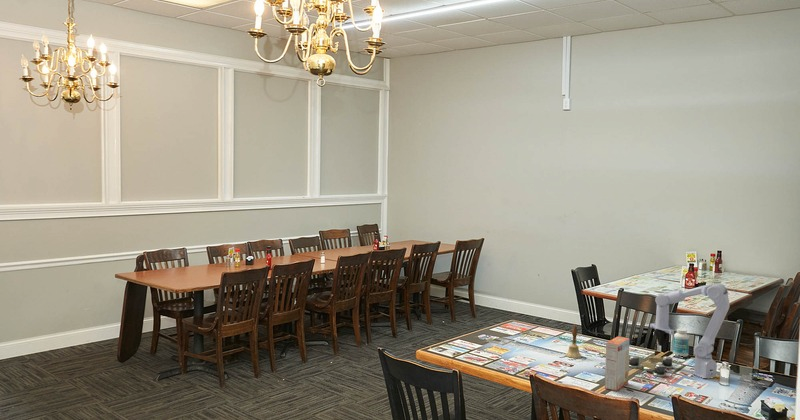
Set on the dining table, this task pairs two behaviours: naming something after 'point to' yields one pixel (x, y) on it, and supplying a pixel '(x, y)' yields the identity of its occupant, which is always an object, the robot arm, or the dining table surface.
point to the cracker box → (617, 363)
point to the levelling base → (651, 369)
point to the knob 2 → (662, 360)
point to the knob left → (655, 367)
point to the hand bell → (573, 346)
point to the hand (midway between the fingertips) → (661, 345)
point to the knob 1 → (634, 360)
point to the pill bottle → (681, 343)
